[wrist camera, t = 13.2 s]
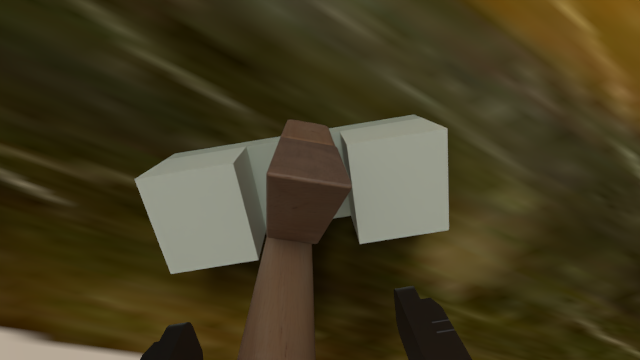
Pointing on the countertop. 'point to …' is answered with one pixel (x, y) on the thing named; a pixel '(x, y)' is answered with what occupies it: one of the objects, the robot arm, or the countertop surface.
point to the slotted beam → (250, 191)
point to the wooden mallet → (293, 242)
